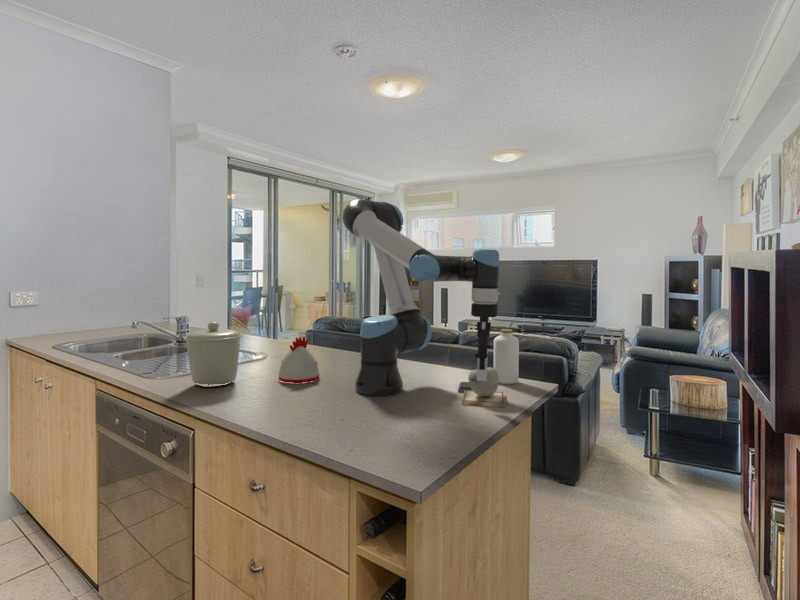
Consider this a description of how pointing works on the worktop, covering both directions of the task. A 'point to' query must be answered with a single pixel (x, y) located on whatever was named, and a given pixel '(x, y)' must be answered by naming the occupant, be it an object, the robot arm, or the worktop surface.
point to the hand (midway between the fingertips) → (482, 374)
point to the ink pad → (464, 386)
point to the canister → (213, 354)
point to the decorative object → (484, 383)
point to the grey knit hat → (299, 364)
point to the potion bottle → (506, 357)
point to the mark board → (483, 399)
